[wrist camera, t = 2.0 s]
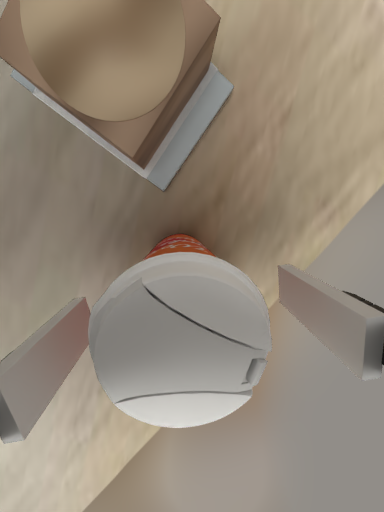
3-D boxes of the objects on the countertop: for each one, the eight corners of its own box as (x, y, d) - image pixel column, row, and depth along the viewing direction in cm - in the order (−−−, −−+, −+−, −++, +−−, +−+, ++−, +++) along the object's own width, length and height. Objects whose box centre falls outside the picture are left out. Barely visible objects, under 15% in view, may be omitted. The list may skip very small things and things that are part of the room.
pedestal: (42, 92, 17) (-14, 45, 12) (104, -29, 15) (70, -142, 10) (144, 169, 19) (132, 157, 14) (208, 70, 17) (221, 16, 12)
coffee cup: (225, 234, 22) (318, 291, 8) (203, 300, 24) (245, 448, 9) (150, 213, 21) (92, 232, 6) (134, 284, 23) (58, 423, 8)
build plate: (21, 85, 17) (9, 76, 16) (85, -47, 16) (78, -67, 15) (163, 192, 20) (162, 191, 19) (231, 92, 19) (234, 85, 18)
